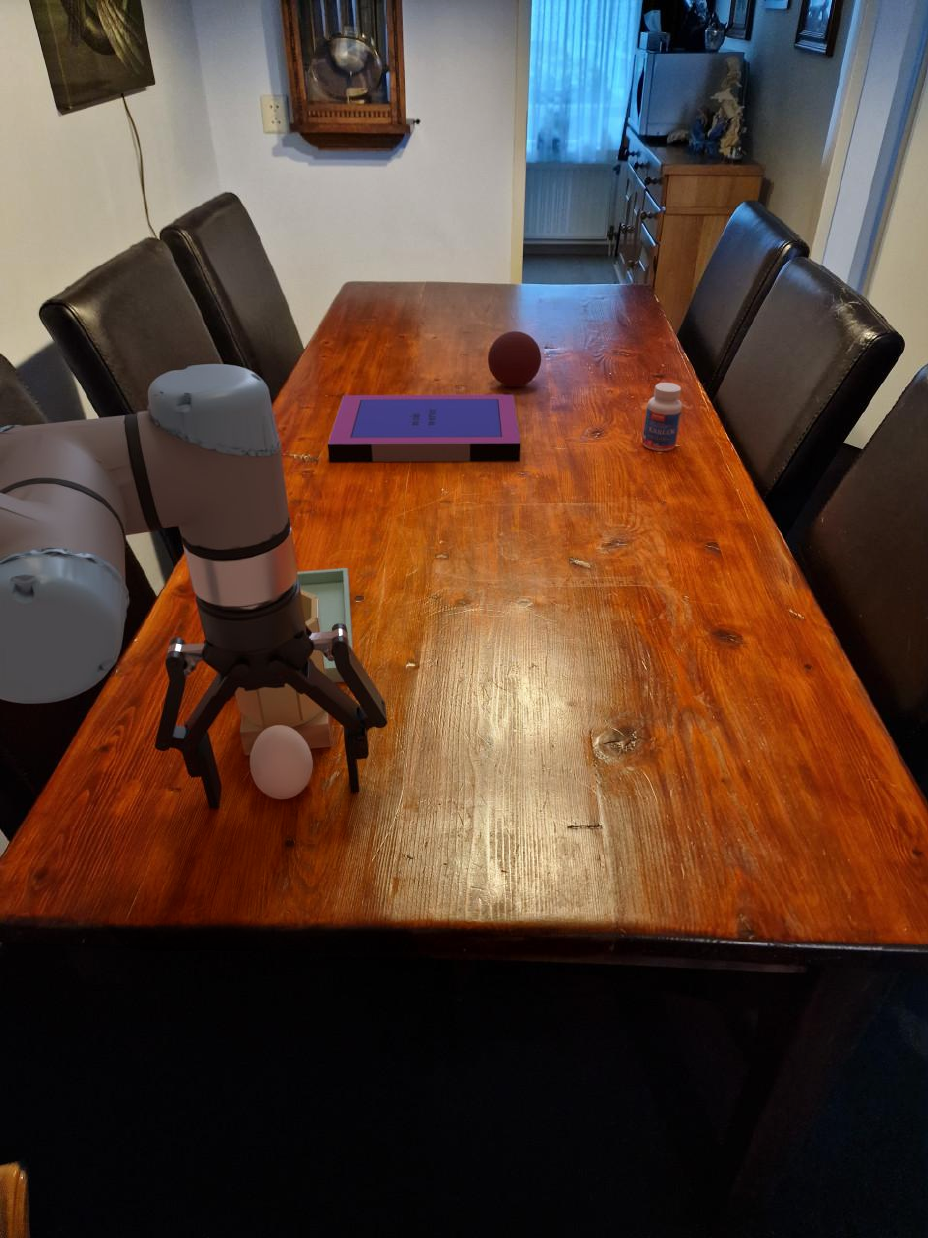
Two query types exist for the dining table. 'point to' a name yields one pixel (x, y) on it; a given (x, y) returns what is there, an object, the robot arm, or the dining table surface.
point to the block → (311, 731)
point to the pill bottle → (662, 418)
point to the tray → (330, 603)
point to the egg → (281, 762)
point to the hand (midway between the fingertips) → (285, 789)
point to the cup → (285, 702)
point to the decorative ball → (514, 359)
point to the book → (425, 429)
